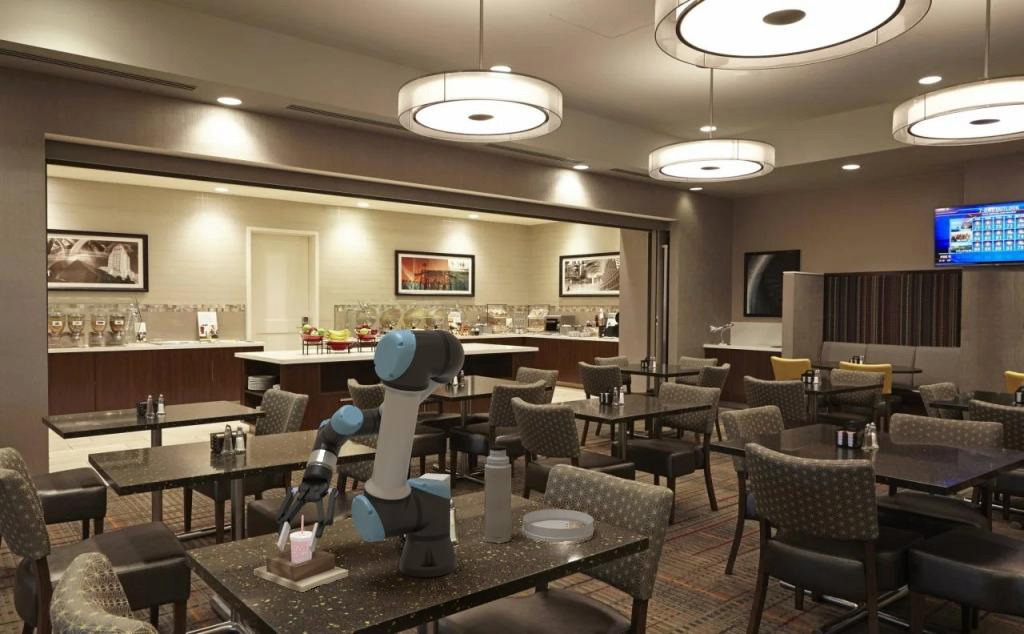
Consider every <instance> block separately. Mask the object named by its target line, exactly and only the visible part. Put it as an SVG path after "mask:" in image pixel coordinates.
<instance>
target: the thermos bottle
mask: <svg viewBox="0 0 1024 634" xmlns="http://www.w3.org/2000/svg"><path fill="white" fill-rule="evenodd" d="M489 449H490V450H489V455H488V456H487V457H486V464H484V541H485V540H486V541H488V542H505V541H508V540H510V539H511V540H512V464H510V457H509V456H508V455H507V446H506V445H502V444H500V445H498V444H497V445H490V447H489ZM486 541H485V542H486ZM488 542H487V543H488Z"/></svg>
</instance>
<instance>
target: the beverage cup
mask: <svg viewBox="0 0 1024 634" xmlns="http://www.w3.org/2000/svg"><path fill="white" fill-rule="evenodd" d="M304 518H305V517H304V514H302V515H301V526H300V527H301V528H300V529H301V530H299V531H294V532H292V533H290V534H289V540H290V549H291V557H292V562H294V563H297V564H298V563H301V562H304V561H307V560H310V559H311V558H312V552H311V551H310V549H309V547H308V545H309V542H310V539H311V535H312V532H313V531H310V530H309V531H308V530H304Z"/></svg>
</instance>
